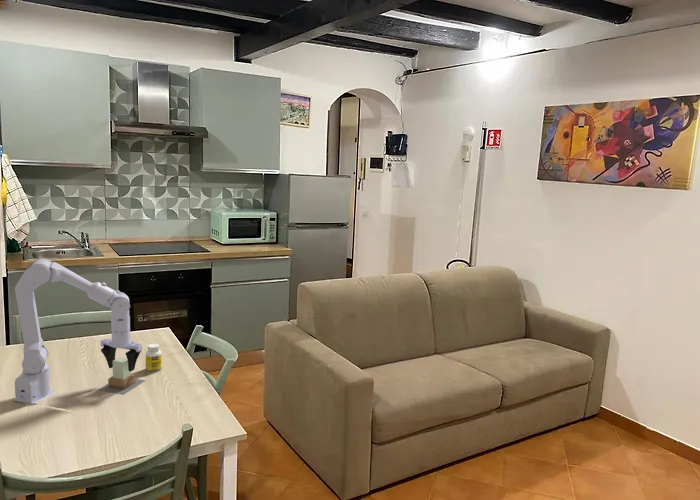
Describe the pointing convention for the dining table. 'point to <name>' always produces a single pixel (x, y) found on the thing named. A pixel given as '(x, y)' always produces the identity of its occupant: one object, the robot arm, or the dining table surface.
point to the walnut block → (121, 382)
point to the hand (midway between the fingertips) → (121, 368)
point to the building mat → (119, 391)
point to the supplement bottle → (153, 358)
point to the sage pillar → (121, 368)
